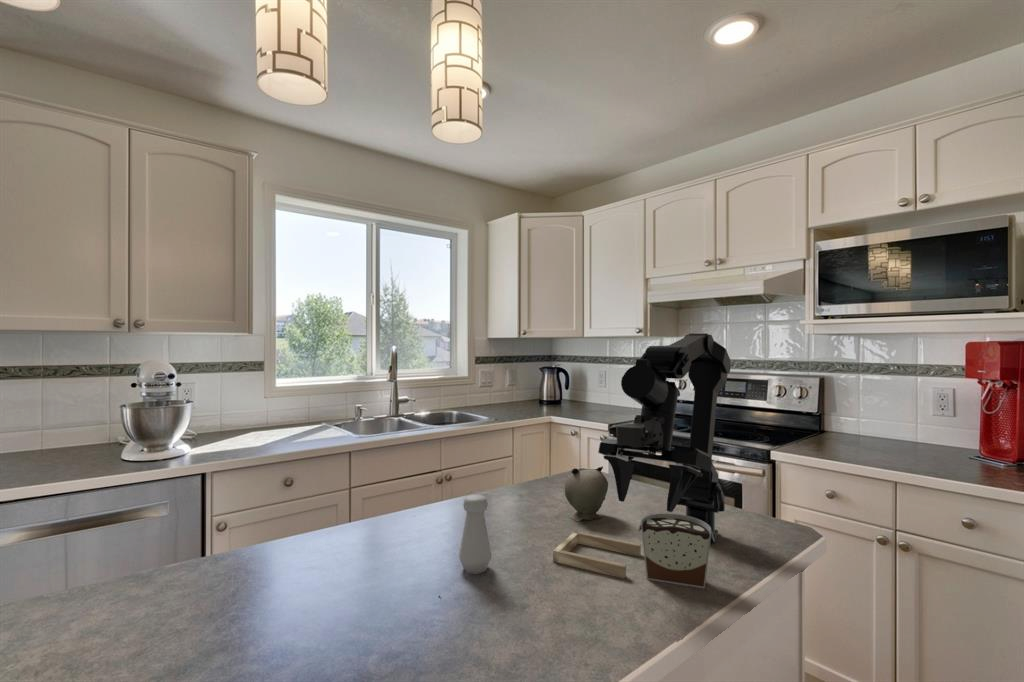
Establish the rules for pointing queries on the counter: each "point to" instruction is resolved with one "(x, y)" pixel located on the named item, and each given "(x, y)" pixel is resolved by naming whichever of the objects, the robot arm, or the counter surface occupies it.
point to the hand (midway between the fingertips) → (644, 506)
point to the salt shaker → (475, 536)
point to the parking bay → (591, 563)
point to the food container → (676, 548)
